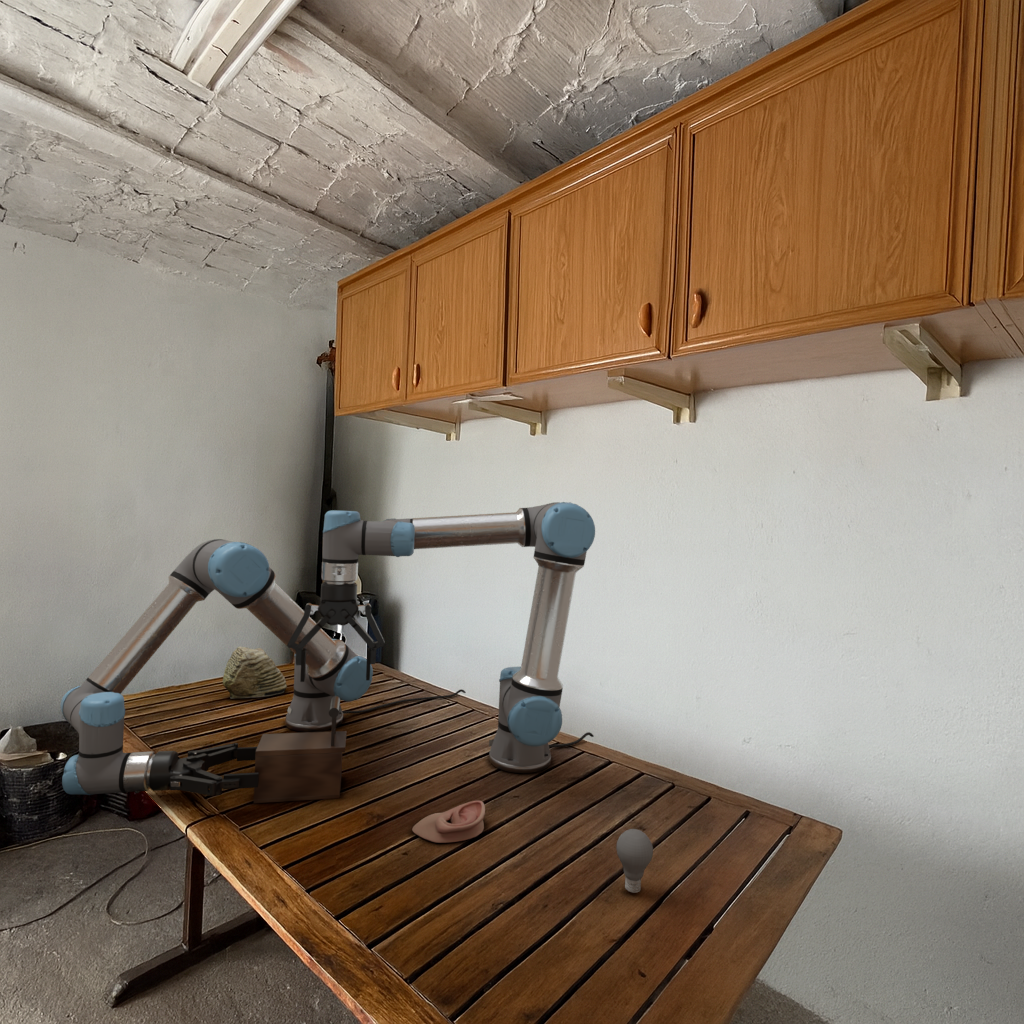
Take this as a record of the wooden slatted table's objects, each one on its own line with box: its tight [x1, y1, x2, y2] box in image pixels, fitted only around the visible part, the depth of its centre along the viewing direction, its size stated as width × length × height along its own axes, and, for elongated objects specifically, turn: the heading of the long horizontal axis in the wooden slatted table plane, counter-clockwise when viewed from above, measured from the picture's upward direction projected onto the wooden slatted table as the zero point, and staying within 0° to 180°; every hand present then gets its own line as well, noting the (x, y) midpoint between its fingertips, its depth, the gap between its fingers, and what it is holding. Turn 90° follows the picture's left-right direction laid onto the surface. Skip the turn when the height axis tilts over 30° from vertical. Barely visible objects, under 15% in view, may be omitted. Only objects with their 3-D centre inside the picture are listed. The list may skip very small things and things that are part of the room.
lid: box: [255, 696, 347, 756], centre depth 136 cm, size 18×9×9 cm, turn 103°
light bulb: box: [615, 828, 654, 894], centre depth 106 cm, size 6×6×10 cm
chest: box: [253, 753, 343, 804], centre depth 136 cm, size 17×9×10 cm, turn 103°
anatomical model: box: [411, 800, 486, 844], centre depth 123 cm, size 13×4×12 cm
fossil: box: [222, 646, 288, 699], centre depth 198 cm, size 9×18×15 cm, turn 132°
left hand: (264, 765), depth 134 cm, fingers open, 13 cm apart
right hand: (335, 679), depth 137 cm, fingers open, 13 cm apart
